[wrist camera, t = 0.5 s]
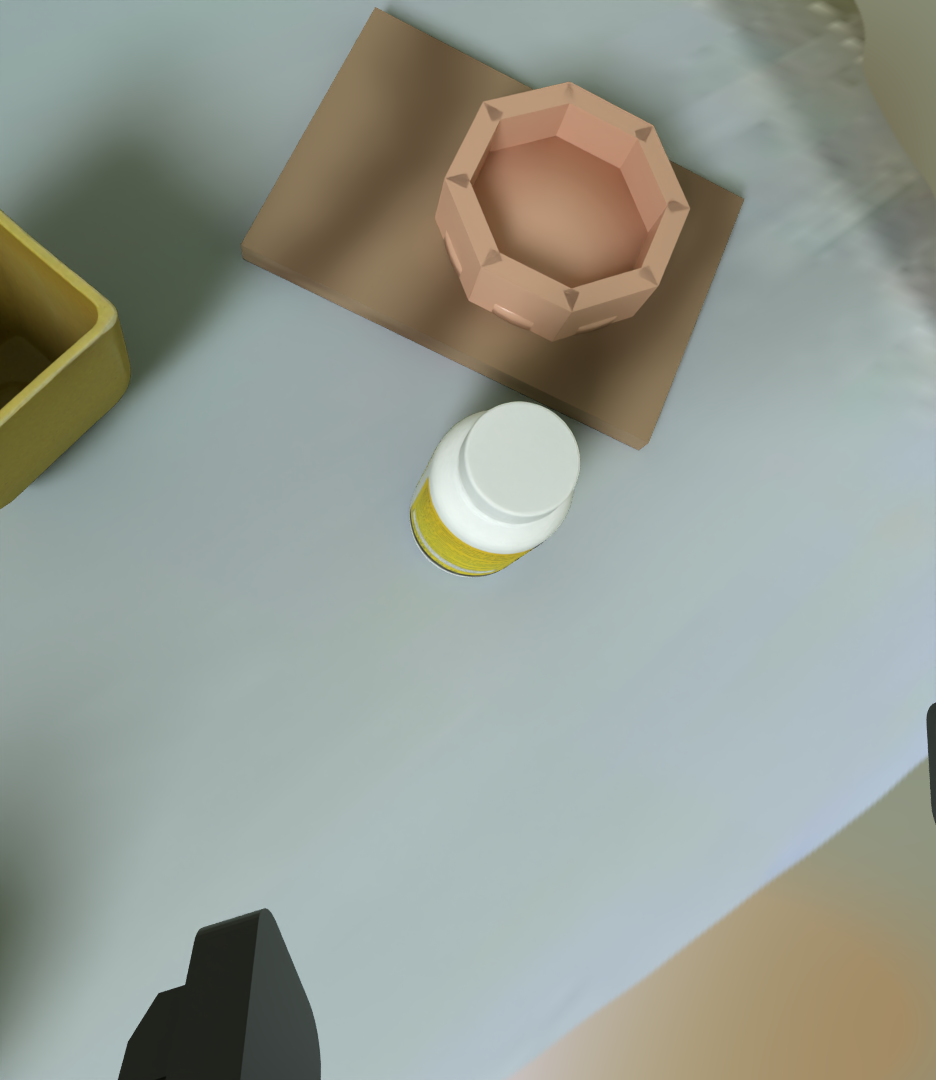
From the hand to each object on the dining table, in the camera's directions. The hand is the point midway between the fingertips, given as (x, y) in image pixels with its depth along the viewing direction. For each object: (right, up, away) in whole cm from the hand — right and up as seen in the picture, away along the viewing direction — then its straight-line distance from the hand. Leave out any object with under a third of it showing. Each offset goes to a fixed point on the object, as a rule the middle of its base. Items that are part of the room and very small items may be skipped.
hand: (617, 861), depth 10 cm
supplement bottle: (-2, +5, +27) cm, 28 cm away
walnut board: (0, +18, +30) cm, 35 cm away
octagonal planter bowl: (+2, +18, +29) cm, 34 cm away
